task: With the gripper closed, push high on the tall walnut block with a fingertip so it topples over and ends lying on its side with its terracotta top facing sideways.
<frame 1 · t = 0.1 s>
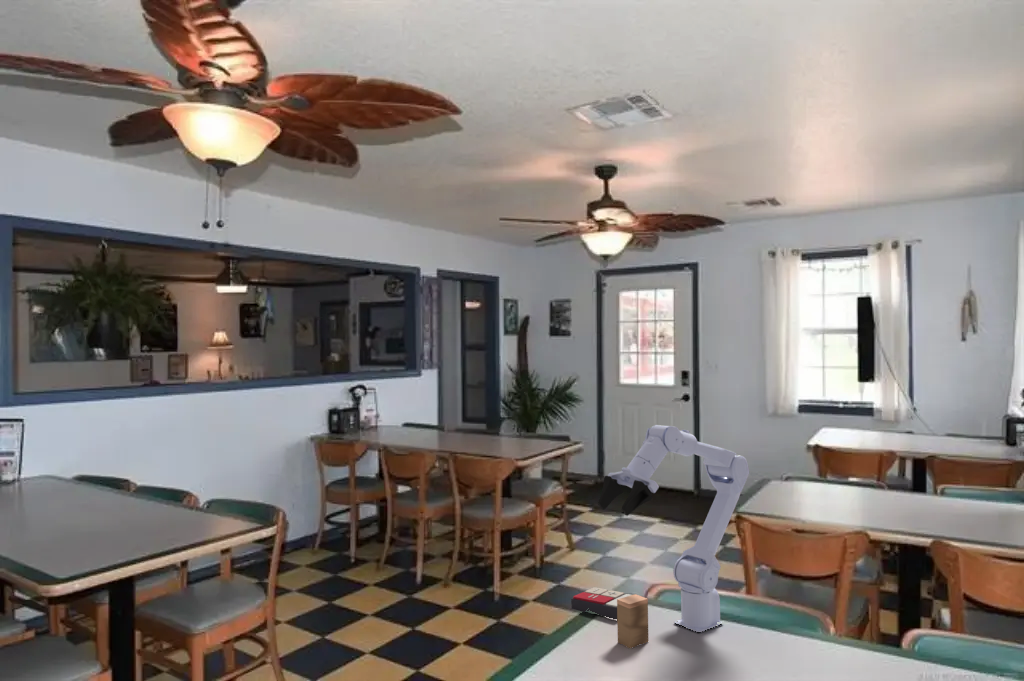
hand: (612, 509, 156), 32 cm above the table, tool tilted 50°, fingers open, 7 cm apart
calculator: (605, 611, 183), on the table
walnut block: (633, 642, 161), on the table
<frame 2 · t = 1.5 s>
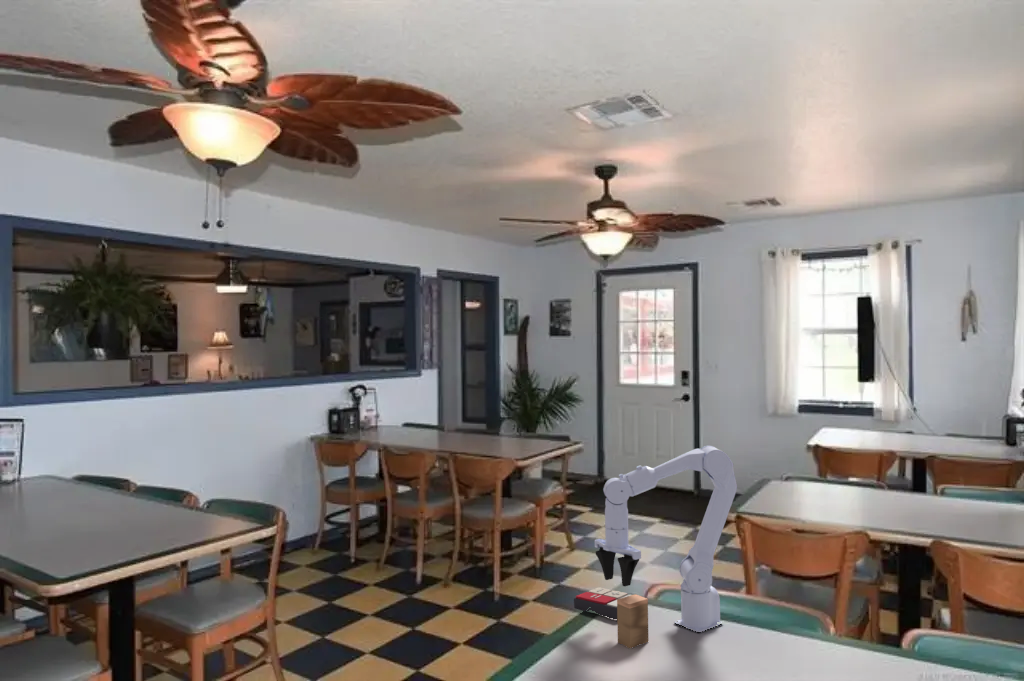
hand: (617, 582, 172), 10 cm above the table, tool pointing down, fingers open, 6 cm apart
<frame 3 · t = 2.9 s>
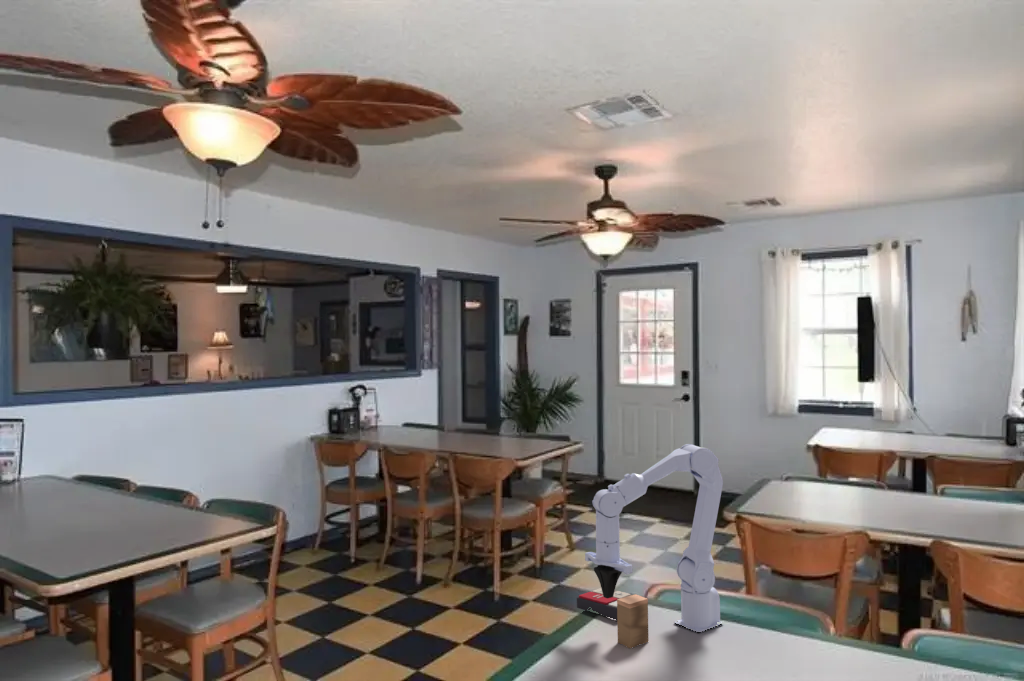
hand: (608, 596, 168), 8 cm above the table, tool pointing down, fingers closed
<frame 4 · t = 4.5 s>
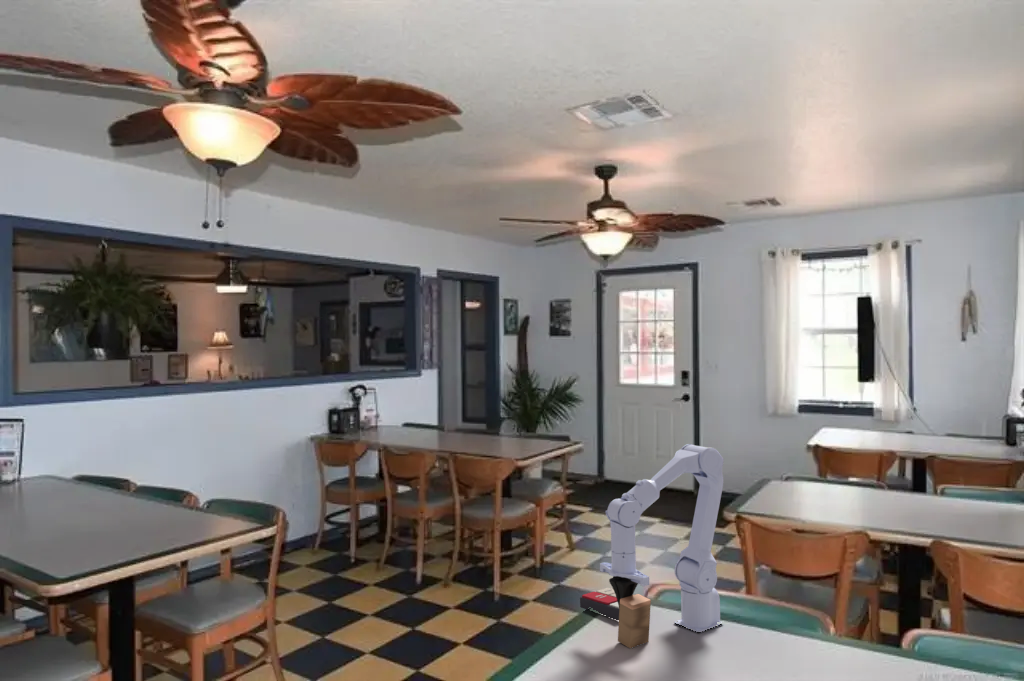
hand: (624, 609, 163), 7 cm above the table, tool pointing down, fingers closed
walnut block: (633, 641, 161), on the table, tilted 6°, touching gripper
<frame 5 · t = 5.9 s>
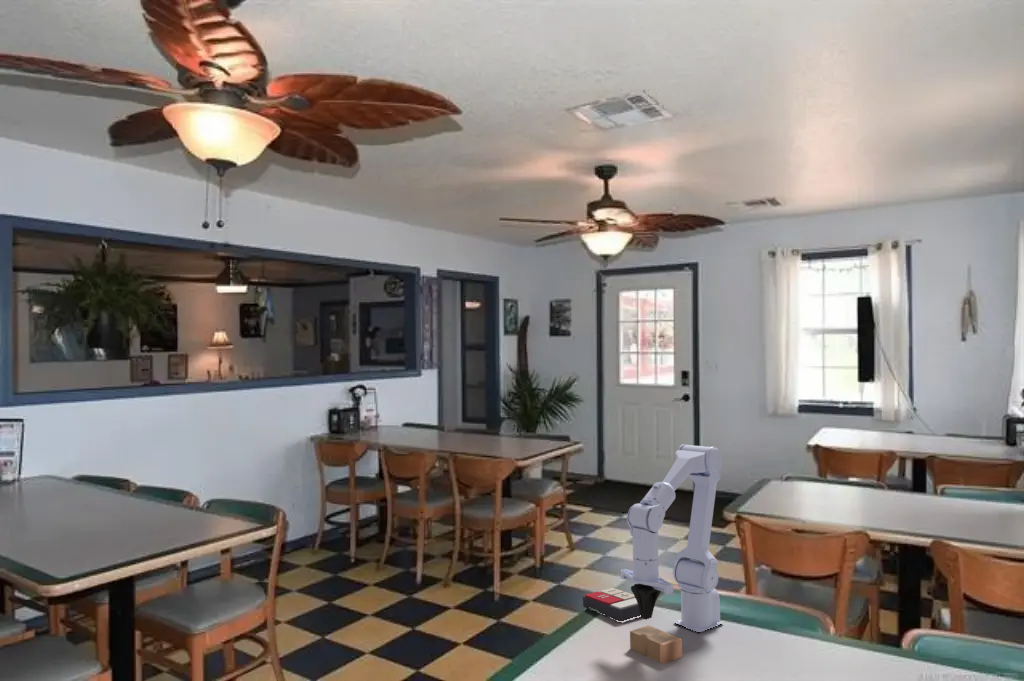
hand: (646, 617, 158), 7 cm above the table, tool pointing down, fingers closed
walnut block: (639, 636, 159), point 2 cm above the table, tilted 90°
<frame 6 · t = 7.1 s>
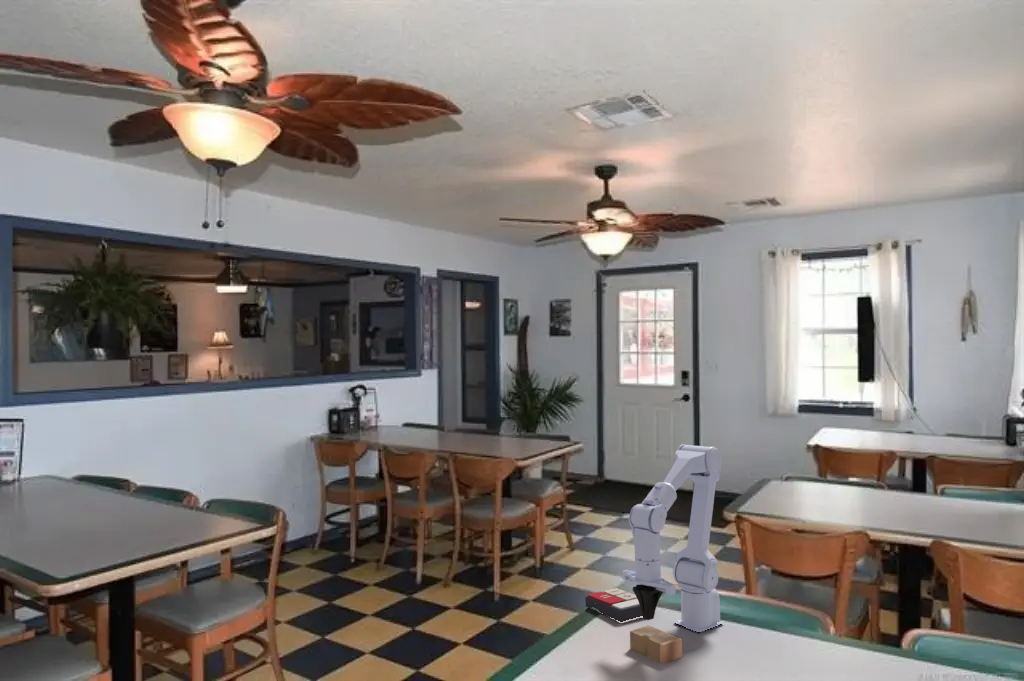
hand: (648, 618, 157), 7 cm above the table, tool pointing down, fingers closed
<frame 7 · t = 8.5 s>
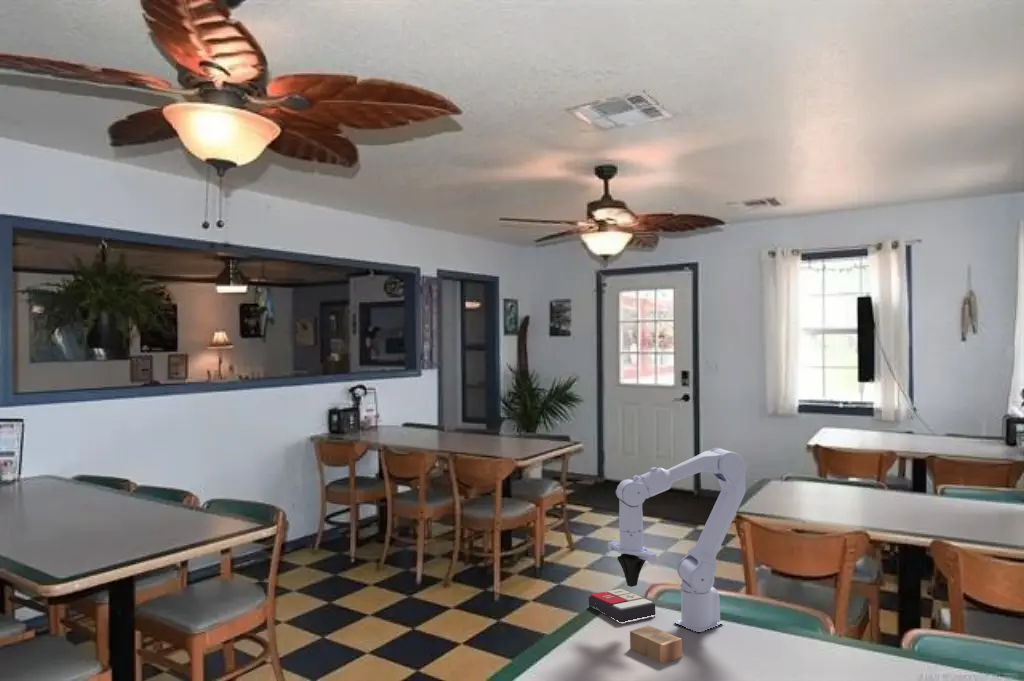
hand: (632, 585, 170), 10 cm above the table, tool pointing down, fingers closed
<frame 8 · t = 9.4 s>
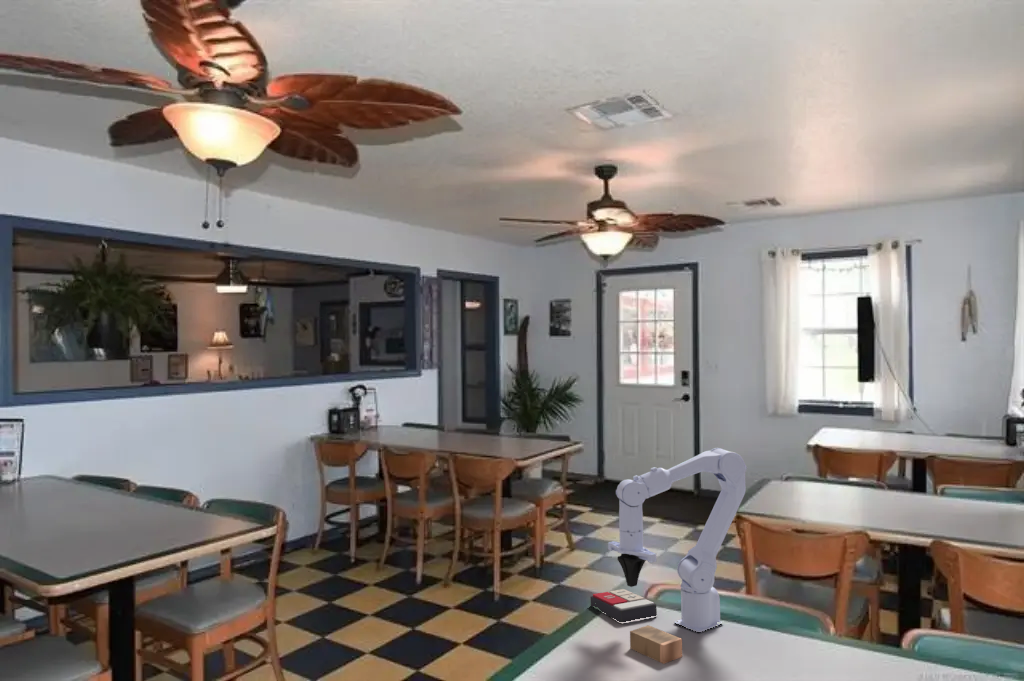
hand: (632, 585, 170), 10 cm above the table, tool pointing down, fingers closed
at the end: walnut block tilted 90°; walnut block inside the target area (1.9 cm from its centre), point 1.9 cm above the table; the gripper is holding nothing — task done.
